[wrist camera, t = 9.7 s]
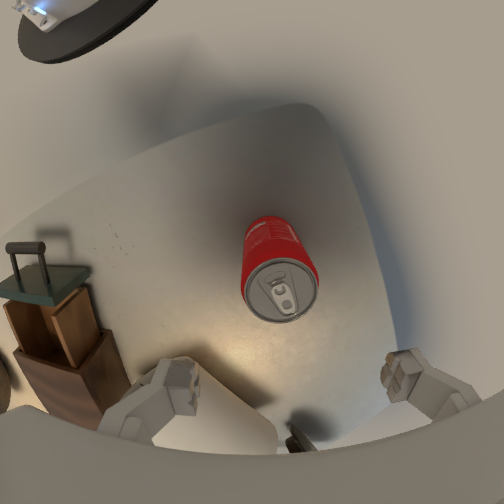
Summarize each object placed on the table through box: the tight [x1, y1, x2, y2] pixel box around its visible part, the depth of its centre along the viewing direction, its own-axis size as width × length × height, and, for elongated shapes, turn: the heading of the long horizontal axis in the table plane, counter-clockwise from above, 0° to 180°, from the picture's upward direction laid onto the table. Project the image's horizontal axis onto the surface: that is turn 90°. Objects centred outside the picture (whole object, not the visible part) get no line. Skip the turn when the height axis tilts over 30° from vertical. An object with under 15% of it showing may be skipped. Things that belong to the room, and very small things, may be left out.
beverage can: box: [241, 216, 319, 323], centre depth 23 cm, size 5×5×12 cm
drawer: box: [0, 241, 101, 370], centre depth 26 cm, size 19×12×8 cm, turn 0°
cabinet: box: [13, 328, 131, 431], centre depth 31 cm, size 16×14×10 cm
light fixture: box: [119, 356, 318, 455], centre depth 30 cm, size 17×19×34 cm
